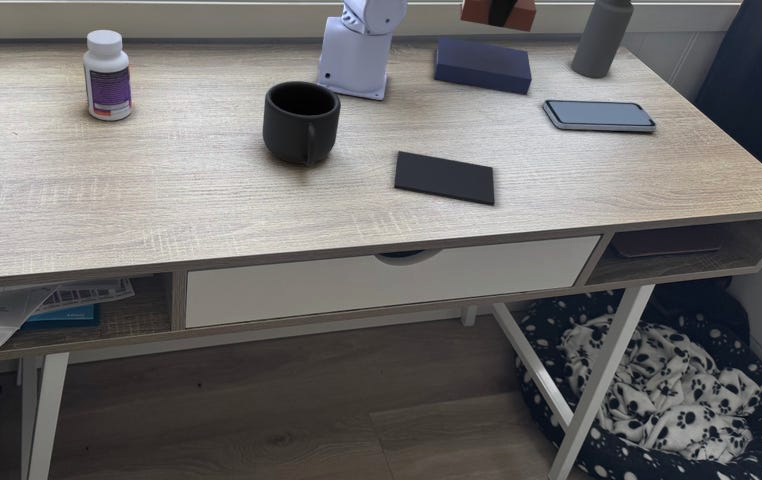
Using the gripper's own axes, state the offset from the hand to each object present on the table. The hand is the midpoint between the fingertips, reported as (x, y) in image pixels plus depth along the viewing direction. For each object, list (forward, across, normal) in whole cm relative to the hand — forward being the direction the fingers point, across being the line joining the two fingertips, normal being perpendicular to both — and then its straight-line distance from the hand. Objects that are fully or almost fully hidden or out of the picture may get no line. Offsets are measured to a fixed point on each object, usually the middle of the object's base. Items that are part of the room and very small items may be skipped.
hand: (494, 17), depth 106 cm
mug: (+9, -32, +23) cm, 40 cm away
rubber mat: (+9, -31, +5) cm, 32 cm away
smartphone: (+9, -8, -17) cm, 21 cm away
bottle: (+9, +9, -18) cm, 23 cm away
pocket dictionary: (0, 0, 0) cm, 0 cm away
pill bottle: (+10, -28, +48) cm, 56 cm away
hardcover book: (+9, +1, 0) cm, 9 cm away
